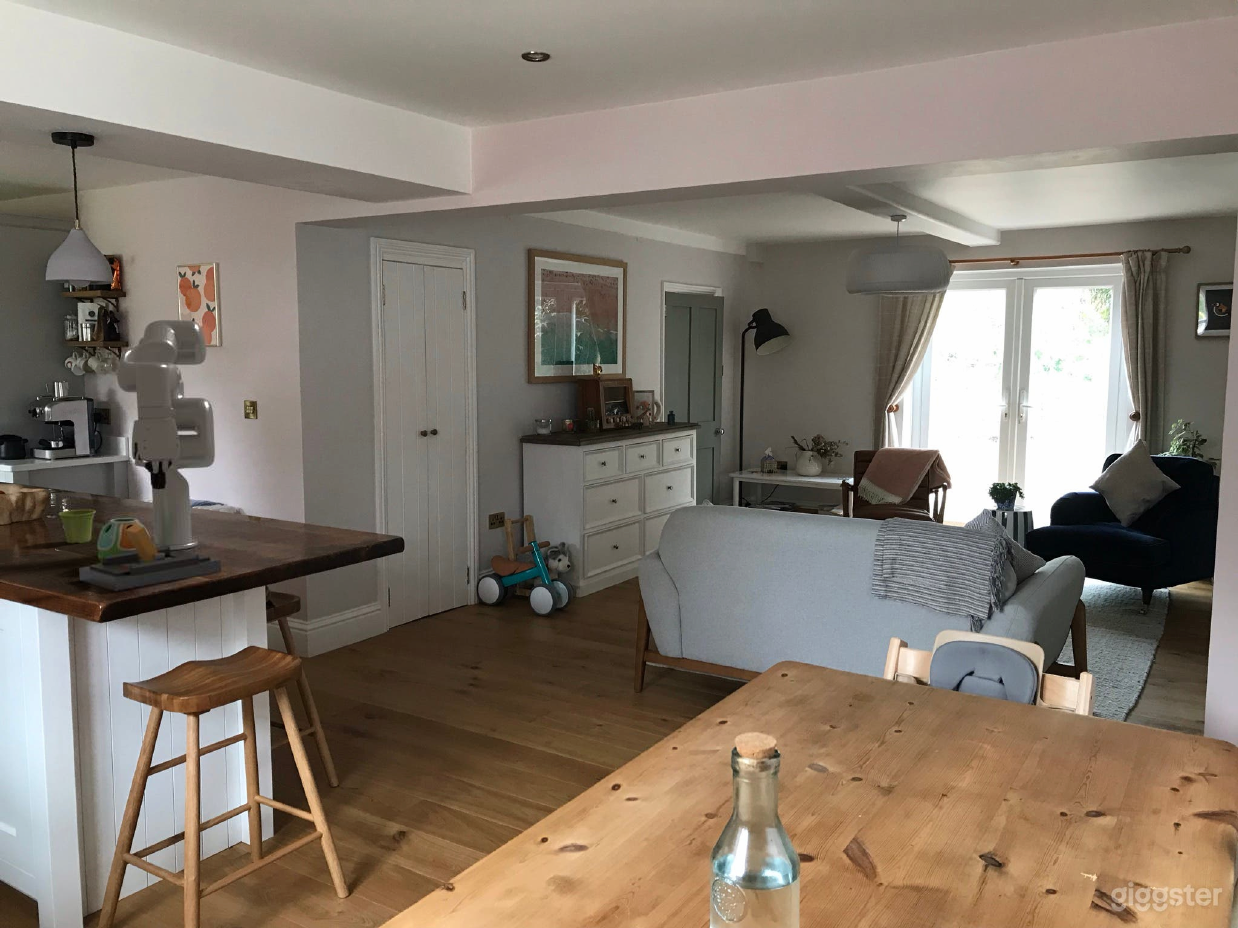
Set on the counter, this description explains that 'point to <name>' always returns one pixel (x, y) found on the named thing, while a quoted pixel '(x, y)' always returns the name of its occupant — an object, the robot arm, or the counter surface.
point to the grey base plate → (121, 579)
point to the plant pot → (77, 525)
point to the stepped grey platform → (151, 566)
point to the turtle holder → (116, 537)
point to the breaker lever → (142, 542)
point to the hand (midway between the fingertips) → (158, 488)
